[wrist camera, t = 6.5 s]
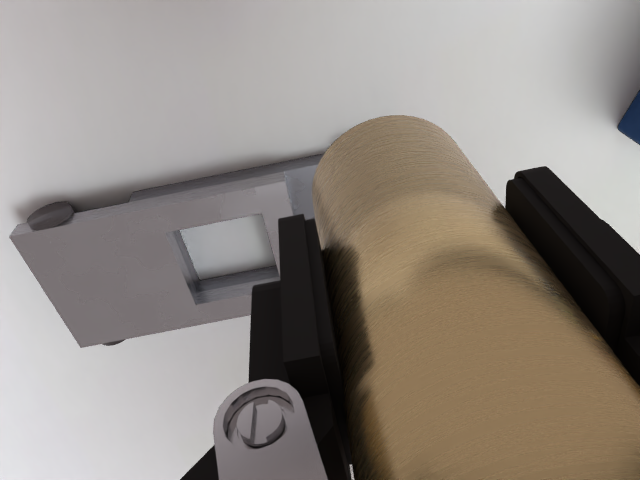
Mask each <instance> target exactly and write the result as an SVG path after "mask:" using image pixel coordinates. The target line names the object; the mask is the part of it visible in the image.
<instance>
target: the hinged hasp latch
mask: <svg viewBox="0 0 640 480" xmlns="http://www.w3.org/2000/svg"><path fill="white" fill-rule="evenodd" d="M323 155H324V154H320V155H315V156H310V157H305V158H300V159H295V160H290V161H285V162H280V163H275V164H270V165H265V166H260V167H255V168H250V169H245V170H240V171H235V172H230V173H225V174H220V175H215V176H211V177H206V178H201V179H196V180H191V181H186V182H181V183H176V184H171V185H166V186H161V187H156V188H151V189H146V190H141V191H136V192H133V193H132V196H131V198H130V200H129V202H128V203H123V204H118V205H113V206H108V207H103V208H98V209H93V210H88V211H83V212H78V213H74V211H73V209H72V207H71V205H70V204H69V203H67V202H57V203H53V204H50V205H47V206H44V207H42V208H40V209H38V210H37V211H35V212H34V213H33V214H31V215H30V216H29V218H28V220H27V223H24V224H19V225H17V226H16V228H15V229H14V230H13V232H12V233H11V235H10V236H9V237H10V239H11V240H12V242H13V243H14V245H15V246H16V248H17V250H18V251H19V253H20V254H21V256H22V257H23V259H24V260H25V262H26V264H27V265H28V267H29V268H30V270H31V271H32V273H33V274H34V276H35V278H36V279H37V281H38V282H39V284H40V285H41V287H42V288H43V290H44V292H45V293H46V295H47V296H48V298H49V299H50V301H51V302H52V304H53V305H54V307H55V309H56V310H57V312H58V313H59V315H60V316H61V318H62V319H63V321H64V323H65V324H66V326H67V327H68V329H69V330H70V332H71V333H72V335H73V337H74V338H75V340H76V341H77V343H78V344H79V346H80V347H81V348H83V347H88V346H93V345H98V344H103V345H106V346H110V345H115V344H118V343H120V342H122V341H124V340H125V339H129V338H134V337H139V336H144V335H150V334H155V333H160V332H165V331H170V330H175V329H181V328H186V327H191V326H196V325H201V324H206V323H211V322H217V321H222V320H227V319H232V318H237V317H242V316H248V315H251V299H252V287H253V286H254V285H258V284H263V283H268V282H274V281H279V280H280V260H279V234H278V219H279V218H284V217H289V216H294V215H299V214H304V217H305V220H309V219H314V218H315V215H314V208H313V201H312V184H313V178H314V175H315V171H316V168H317V166H318V164H319V162H320V160H321V158H322V157H323ZM257 214H262V216H263V219H264V223H265V226H266V230H267V233H268V237H269V240H270V244H271V247H272V251H273V255H274V258H275V262H276V265H277V266H272V267H267V268H262V269H257V270H251V271H246V272H241V273H236V274H231V275H226V276H221V277H216V278H211V279H206V280H200V281H199V278H198V276H197V273H196V271H195V268H194V266H193V264H192V261H191V259H190V256H189V254H188V251H187V249H186V246H185V244H184V241H183V239H182V236H181V234H180V231H179V230H181V229H186V228H191V227H196V226H201V225H206V224H211V223H216V222H221V221H226V220H232V219H237V218H242V217H247V216H252V215H257ZM315 222H316V221H315Z"/></svg>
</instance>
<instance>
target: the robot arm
mask: <svg viewBox="0 0 640 480" xmlns="http://www.w3.org/2000/svg"><path fill="white" fill-rule="evenodd" d="M505 209H506V210H507V212H508V213H509V214H510V216H511V217H512V218H513V220H514V221H515V222H516V224H517V225H518V226H519V228H520V229H521V230H522V232H523V233H524V234H525V235H526V237H527V238H528V239H529V241H530V242H531V243H532V245H533V246H534V247H535V249H536V250H537V251H538V253H539V254H540V255H541V257H542V258H543V259H544V261H545V262H546V263H547V265H548V266H549V267H550V269H551V270H552V271H553V273H554V274H555V275H556V277H557V278H558V279H559V280H560V282H561V283H562V284H563V286H564V287H565V288H566V290H567V291H568V292H569V294H570V295H571V296H572V298H573V299H574V300H575V302H576V303H577V304H578V306H579V307H580V308H581V310H582V311H583V312H584V314H585V315H586V316H587V318H588V319H589V320H590V322H591V323H592V324H593V326H594V327H595V328H596V329H597V331H598V332H599V333H600V335H601V336H602V337H603V339H604V340H605V341H606V343H607V344H608V345H609V347H610V348H611V349H612V351H613V352H614V353H615V355H616V356H617V357H618V359H619V360H620V361H621V363H622V364H623V365H624V367H625V368H626V369H627V371H628V372H629V373H630V374H631V376H632V377H633V378H634V380H635V381H636V382H637V384H638V385H639V386H640V255H639V254H638V253H637V252H636V251H635V250H634V249H633V248H632V247H631V246H630V245H629V244H628V243H627V242H626V241H625V240H624V239H623V238H622V237H621V236H620V235H619V234H618V233H617V232H616V231H615V230H614V229H613V228H612V227H611V226H610V225H609V224H607V223H606V222H605V221H603V220H601V219H600V218H599V217H598V216H597V215H596V214H595V213H594V212H593V211H592V210H591V209H590V208H589V207H588V206H587V205H586V204H585V203H584V202H583V201H582V200H581V199H580V198H578V197H577V196H576V195H575V194H574V193H573V192H572V191H571V190H570V189H569V188H568V187H567V186H566V185H565V184H564V183H563V182H562V181H561V180H560V179H559V178H558V177H557V176H556V175H555V174H554V173H553V172H552V171H551V170H550V169H549V168H547V167H546V166H544V167H538V168H533V169H528V170H523V171H518V172H517V173H516V174H515V177H514V179H513V180H509V181H508V182H507V185H506V206H505ZM278 234H279V260H280V280H279V281H274V282H268V283H263V284H258V285H254V286H253V287H252V299H251V329H250V358H249V383H248V384H246V385H243V386H241V387H239V388H238V389H236V390H235V391H234V392H233V393H231V394H230V395H229V396H228V397H227V398H226V399H225V400H224V402H223V403H222V404H221V405H220V407H219V409H218V411H217V413H216V416H215V418H214V427H213V435H214V443H215V445H214V446H213V447H212V448H211V449H210V450H209V451H208V452H207V453H206V454H205V455H204V456H203V457H202V458H201V459H200V460H199V461H198V462H197V463H196V464H195V465H194V466H193V467H192V468H191V469H190V470H189V471H188V472H187V473H186V474H185V475H184V476H183V477H182V478H181V479H180V480H351V473H350V466H349V465H350V464H352V459H351V453H350V446H349V439H348V433H347V426H346V420H345V412H344V390H343V383H342V377H341V370H340V364H339V358H338V351H337V345H336V338H335V332H334V326H333V319H332V313H331V307H330V300H329V294H328V287H327V281H326V275H325V268H324V262H323V255H322V250H321V245H320V240H319V236H318V231H317V226H316V222H315V218H314V219H309V220H305V217H304V214H299V215H294V216H289V217H284V218H279V219H278Z"/></svg>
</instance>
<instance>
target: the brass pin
mask: <svg viewBox="0 0 640 480" xmlns="http://www.w3.org/2000/svg"><path fill="white" fill-rule="evenodd" d="M312 201H313V208H314V215H315V221H316V226H317V231H318V236H319V240H320V245H321V250H322V255H323V262H324V268H325V275H326V281H327V287H328V294H329V300H330V307H331V313H332V319H333V326H334V332H335V338H336V345H337V351H338V358H339V364H340V370H341V377H342V383H343V390H344V412H345V420H346V426H347V433H348V439H349V446H350V453H351V459H352V466H353V473H354V479H355V480H640V386H639V385H638V384H637V382H636V381H635V380H634V378H633V377H632V376H631V374H630V373H629V372H628V371H627V369H626V368H625V367H624V365H623V364H622V363H621V361H620V360H619V359H618V357H617V356H616V355H615V353H614V352H613V351H612V349H611V348H610V347H609V345H608V344H607V343H606V341H605V340H604V339H603V337H602V336H601V335H600V333H599V332H598V331H597V329H596V328H595V327H594V326H593V324H592V323H591V322H590V320H589V319H588V318H587V316H586V315H585V314H584V312H583V311H582V310H581V308H580V307H579V306H578V304H577V303H576V302H575V300H574V299H573V298H572V296H571V295H570V294H569V292H568V291H567V290H566V288H565V287H564V286H563V284H562V283H561V282H560V280H559V279H558V278H557V277H556V275H555V274H554V273H553V271H552V270H551V269H550V267H549V266H548V265H547V263H546V262H545V261H544V259H543V258H542V257H541V255H540V254H539V253H538V251H537V250H536V249H535V247H534V246H533V245H532V243H531V242H530V241H529V239H528V238H527V237H526V235H525V234H524V233H523V232H522V230H521V229H520V228H519V226H518V225H517V224H516V222H515V221H514V220H513V218H512V217H511V216H510V214H509V213H508V212H507V210H506V209H505V208H504V206H503V205H502V204H501V202H500V201H499V200H498V198H497V197H496V196H495V194H494V193H493V192H492V190H491V189H490V188H489V187H488V185H487V184H486V183H485V181H484V180H483V179H482V177H481V176H480V175H479V173H478V172H477V171H476V169H475V168H474V167H473V165H472V164H471V163H470V161H469V160H468V159H467V157H466V156H465V155H464V153H463V152H462V151H461V149H460V148H459V147H458V145H457V144H456V143H455V141H454V140H453V139H452V138H451V137H450V136H449V135H448V134H447V133H446V132H445V131H444V130H442V129H441V128H440V127H438V126H436V125H435V124H433V123H431V122H429V121H426V120H424V119H420V118H417V117H412V116H404V115H391V116H384V117H379V118H375V119H371V120H368V121H366V122H363V123H361V124H359V125H357V126H355V127H353V128H351V129H350V130H348V131H347V132H345V133H344V134H343V135H341V136H340V137H339V138H338V139H337V140H336V141H335V142H334V143H333V144H332V145H331V146H330V147H329V148H328V150H327V151H326V152H325V154H324V155H323V157H322V158H321V160H320V162H319V164H318V166H317V168H316V171H315V175H314V178H313V184H312Z"/></svg>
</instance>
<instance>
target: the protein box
mask: <svg viewBox="0 0 640 480" xmlns="http://www.w3.org/2000/svg"><path fill="white" fill-rule="evenodd" d="M618 130H619V131H620V132H622V133H623V134H625V135H626V136H627V137H629V138H630V139H632V140H633V141H635V142H636V143H638V144H639V145H640V91H639V92H638V94H637V96H636V97H635V99H634V100H633V102H632V104H631V105H630V107H629V109H628V110H627V112H626V113H625V115H624V117H623V118H622V120H621V122H620V123H619V125H618Z"/></svg>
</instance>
